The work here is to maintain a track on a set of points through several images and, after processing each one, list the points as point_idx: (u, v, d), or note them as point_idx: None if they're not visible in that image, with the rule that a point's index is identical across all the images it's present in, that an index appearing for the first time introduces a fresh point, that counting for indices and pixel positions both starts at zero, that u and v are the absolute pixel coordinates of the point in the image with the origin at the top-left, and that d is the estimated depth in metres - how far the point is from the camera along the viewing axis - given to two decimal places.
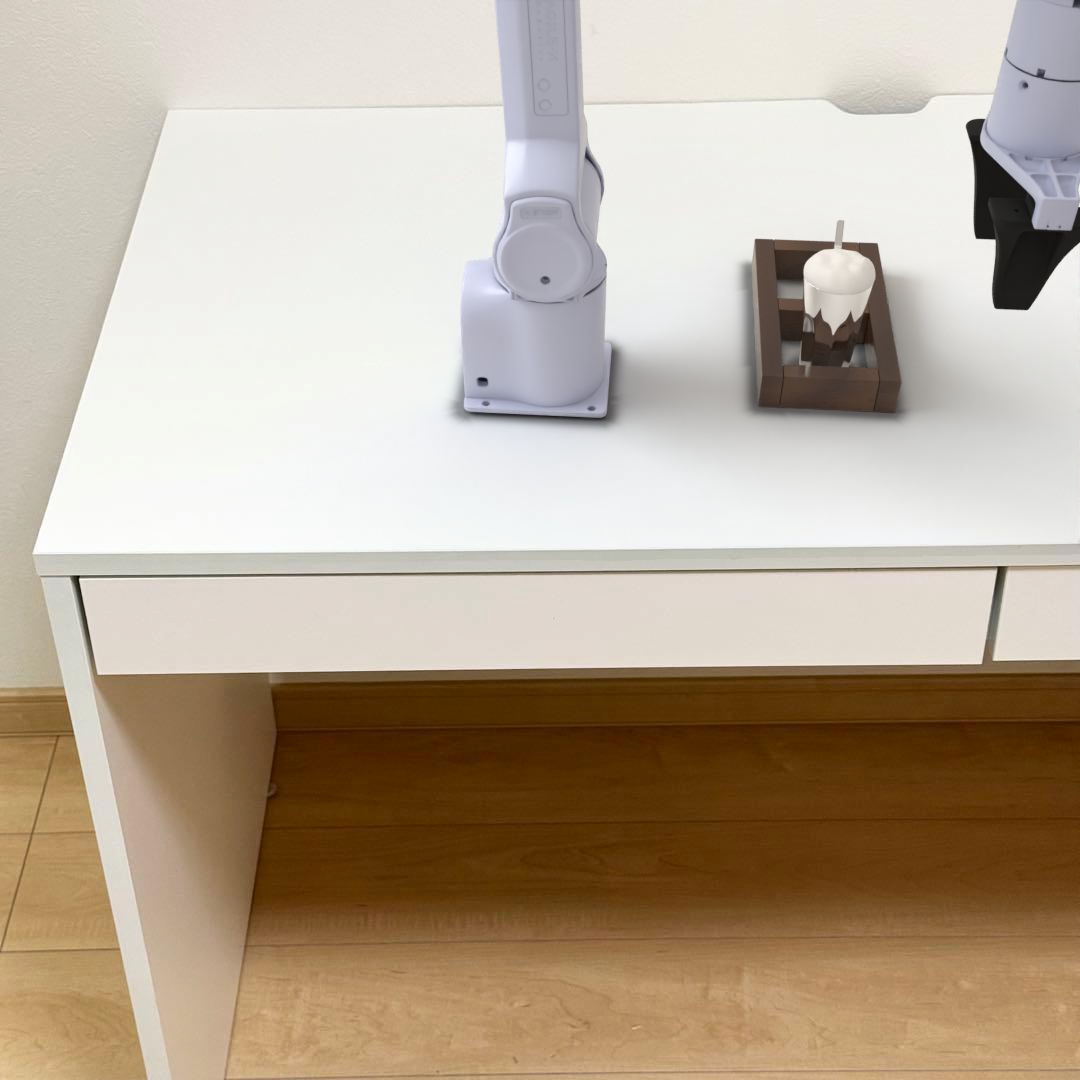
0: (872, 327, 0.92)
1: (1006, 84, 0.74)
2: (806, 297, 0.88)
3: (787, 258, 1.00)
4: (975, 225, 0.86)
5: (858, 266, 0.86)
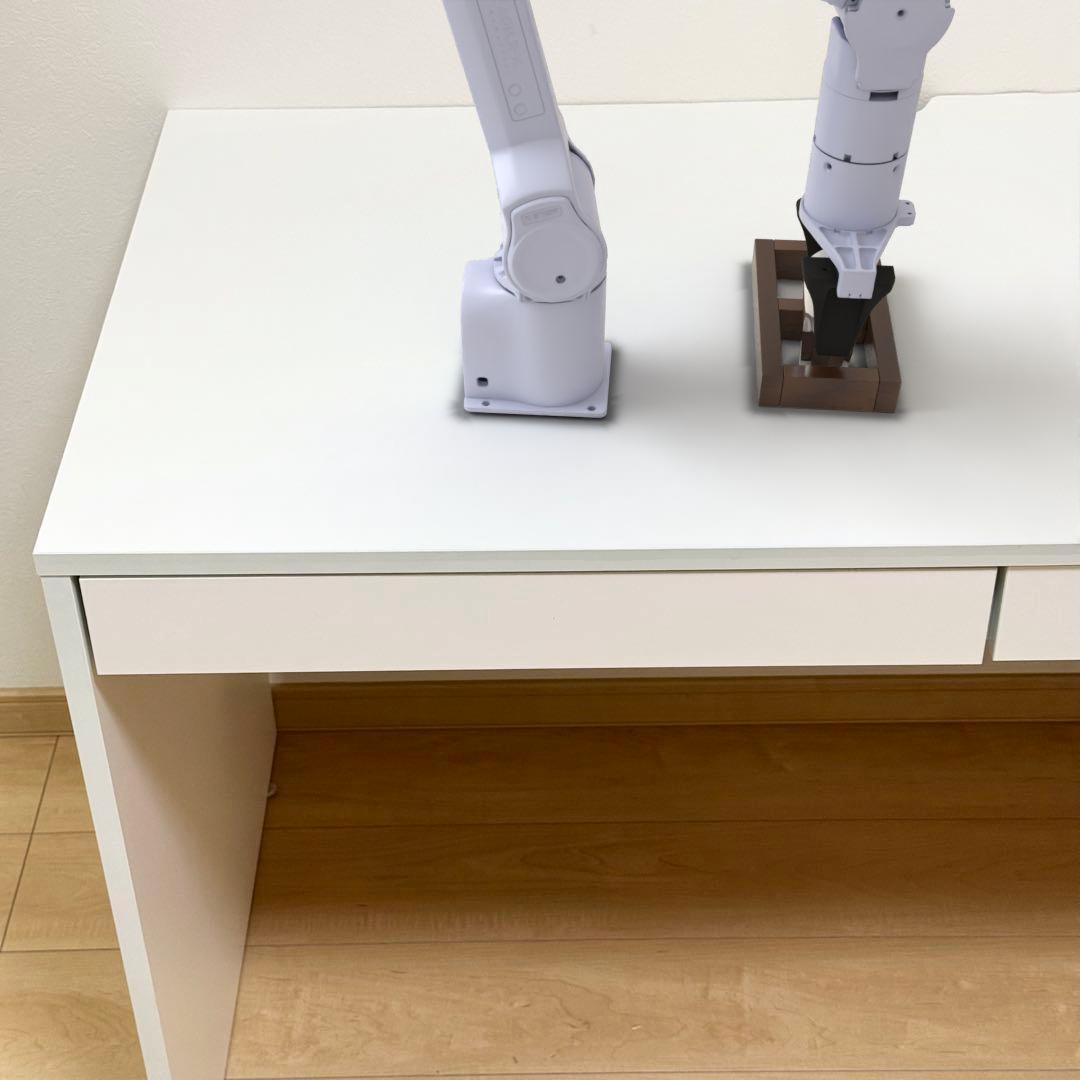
0: (872, 327, 0.92)
1: (814, 164, 0.82)
2: (806, 297, 0.88)
3: (787, 258, 1.00)
4: None
5: None
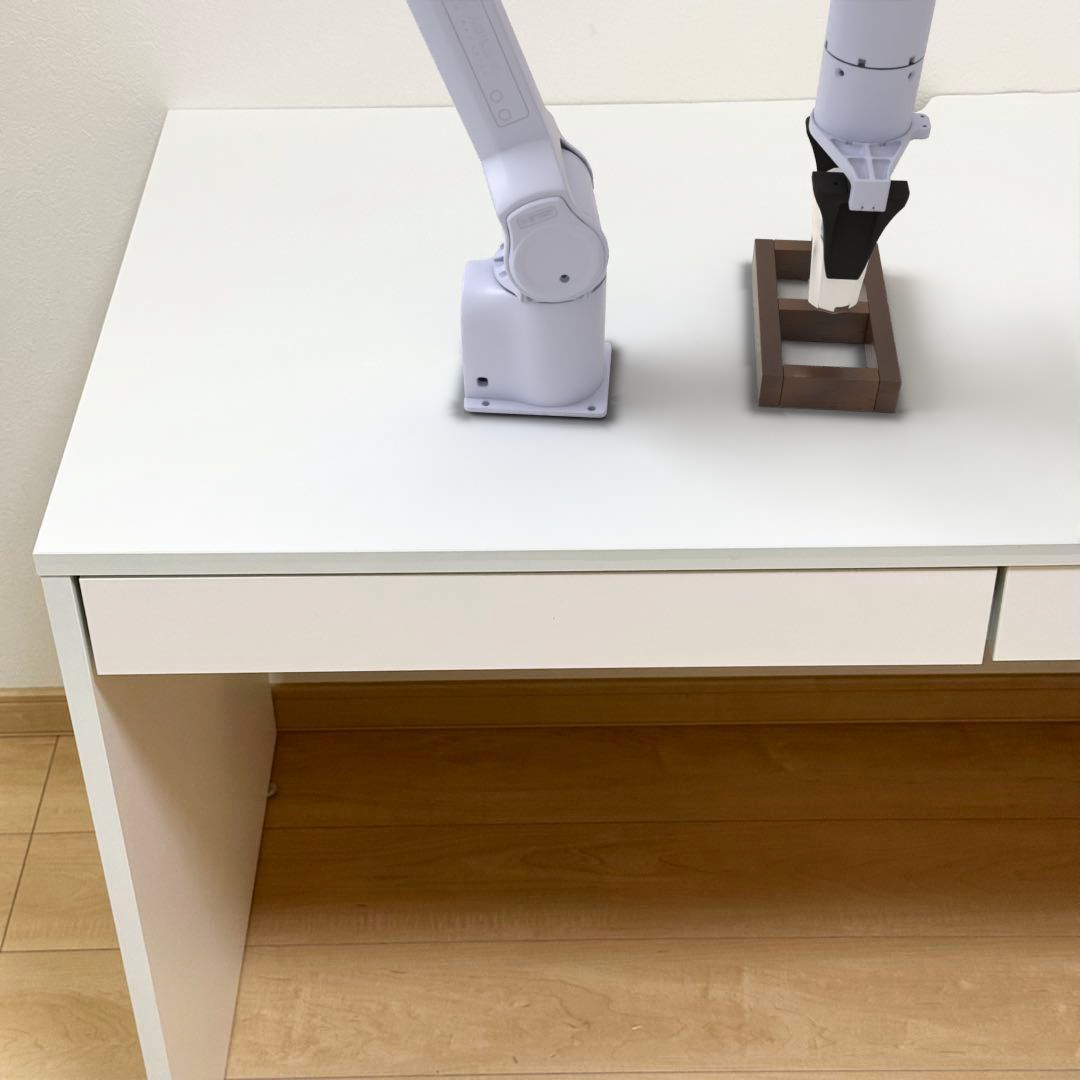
0: (872, 327, 0.92)
1: (825, 72, 0.78)
2: (816, 217, 0.84)
3: (787, 258, 1.00)
4: None
5: None
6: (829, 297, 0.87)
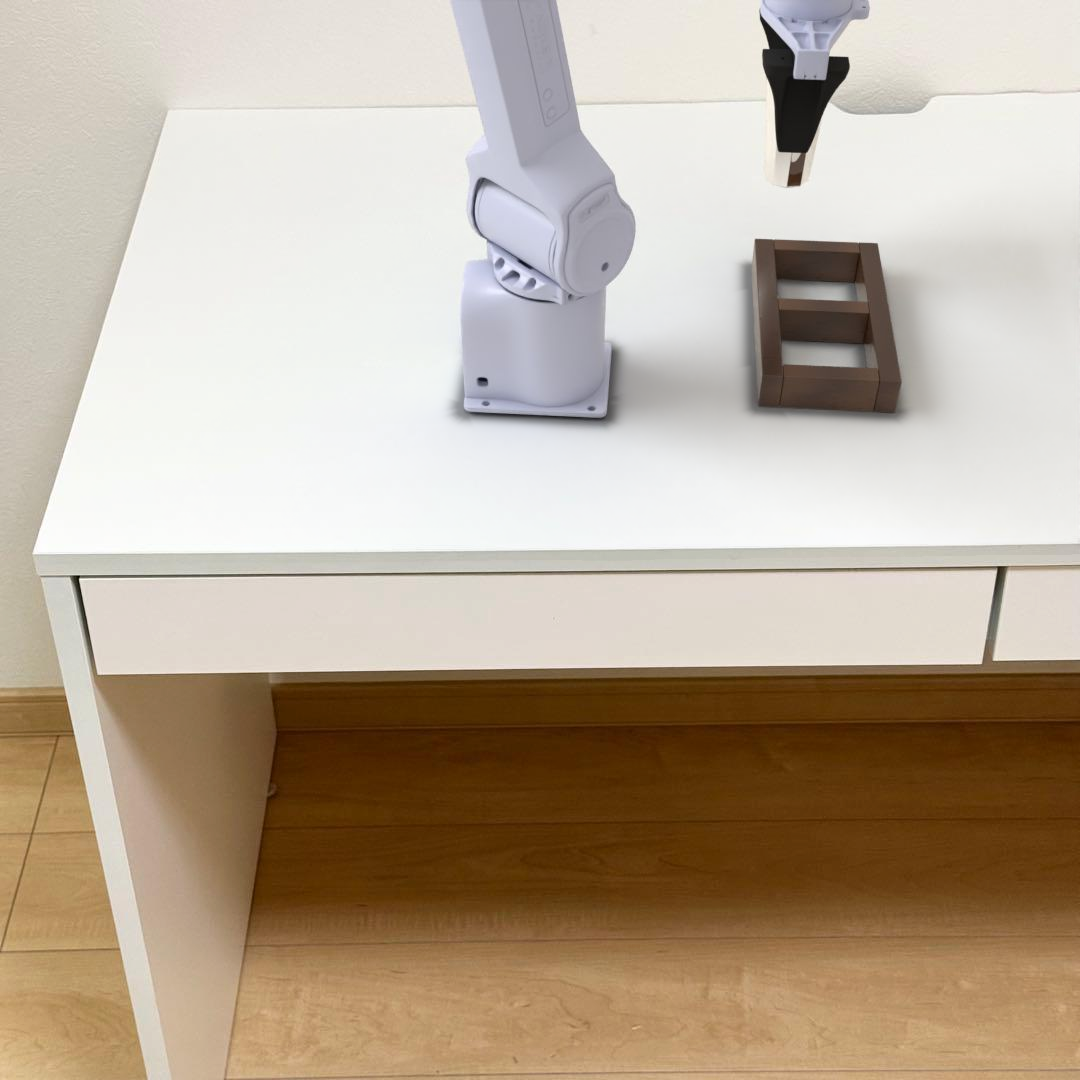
0: (872, 327, 0.92)
1: None
2: (769, 95, 0.93)
3: (787, 258, 1.00)
4: None
5: None
6: (783, 172, 0.96)
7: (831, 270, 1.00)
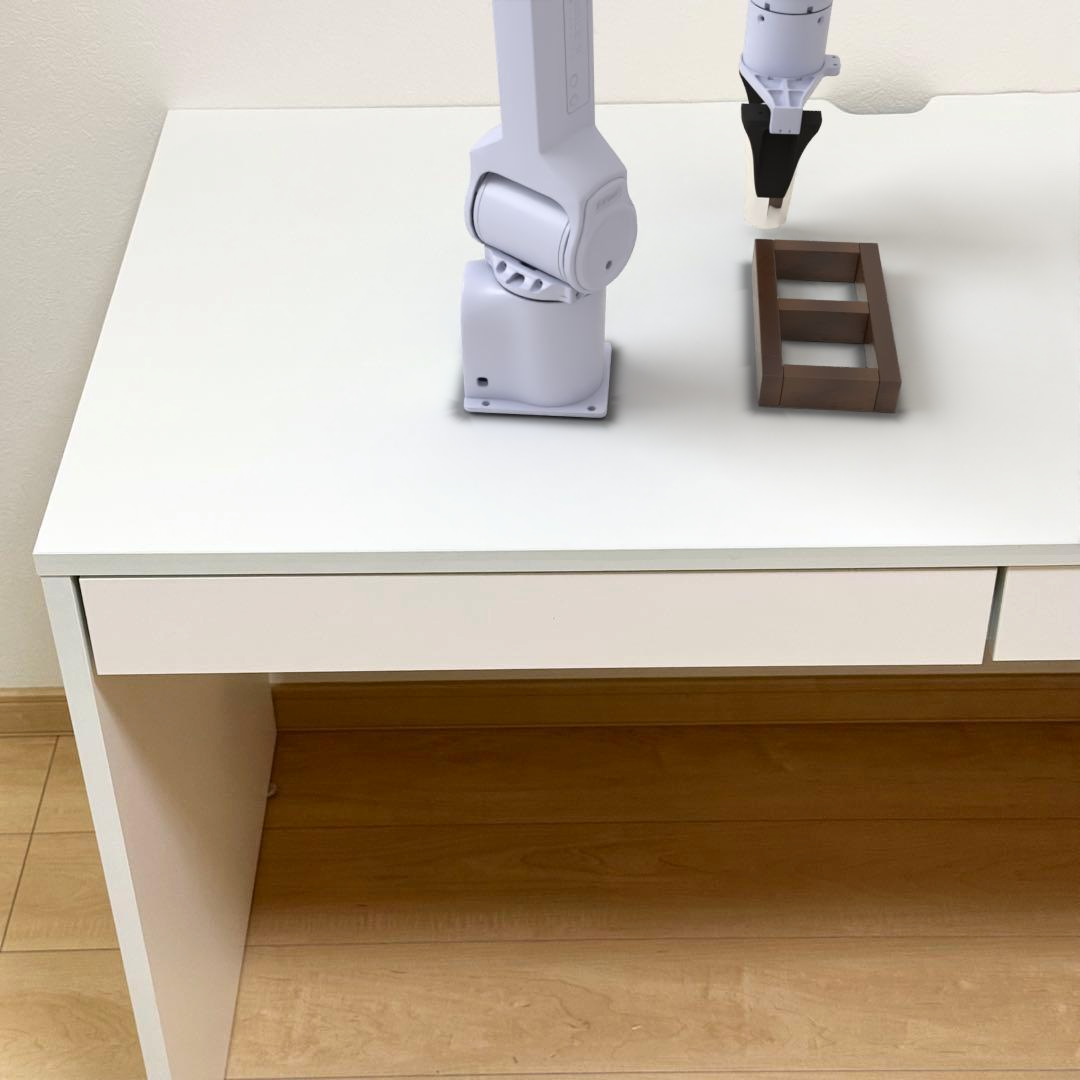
0: (872, 327, 0.92)
1: (750, 18, 0.93)
2: (748, 144, 1.00)
3: (787, 258, 1.00)
4: None
5: None
6: (761, 214, 1.03)
7: (831, 270, 1.00)
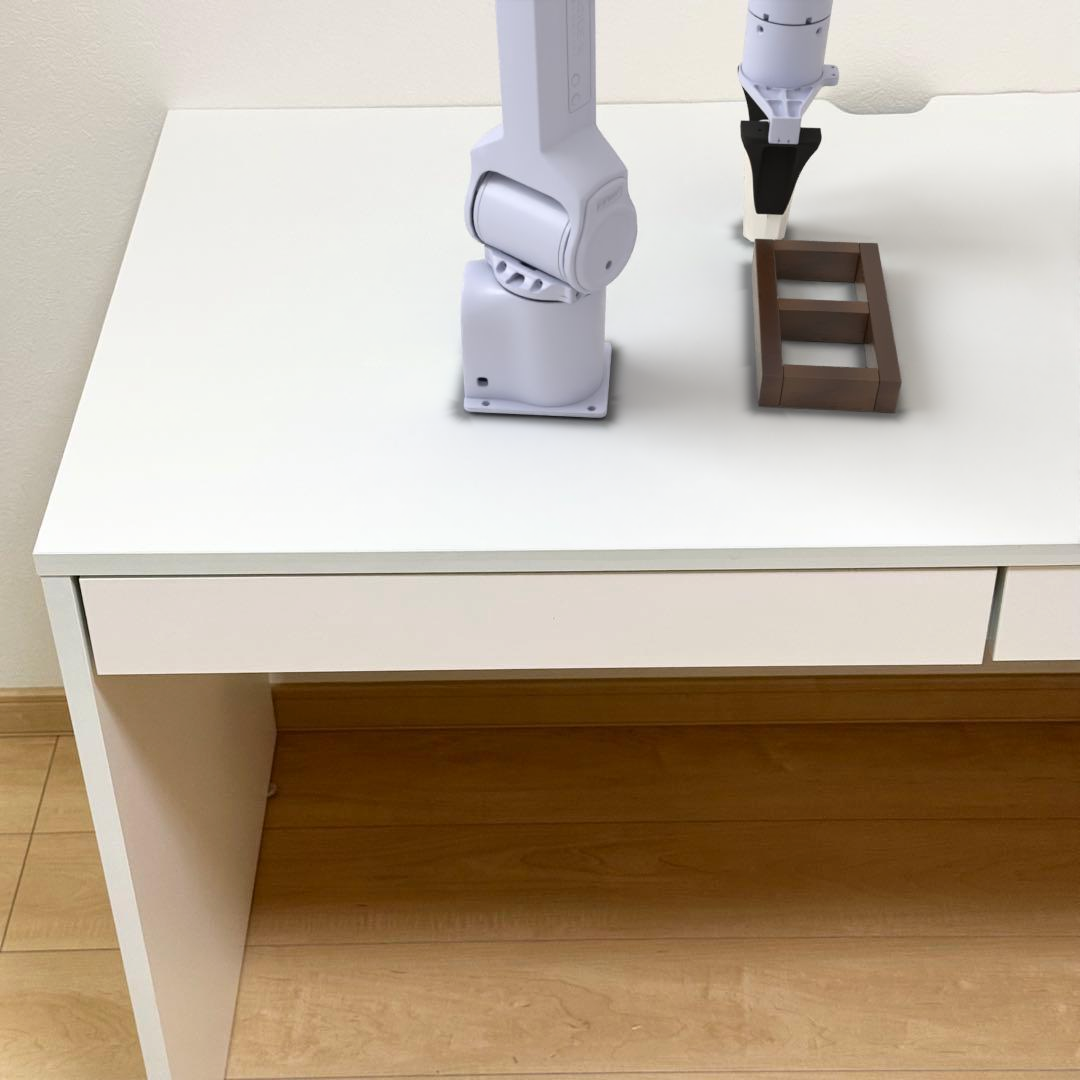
0: (872, 327, 0.92)
1: (749, 29, 0.94)
2: (746, 161, 1.01)
3: (787, 258, 1.00)
4: None
5: None
6: (760, 230, 1.04)
7: (831, 270, 1.00)
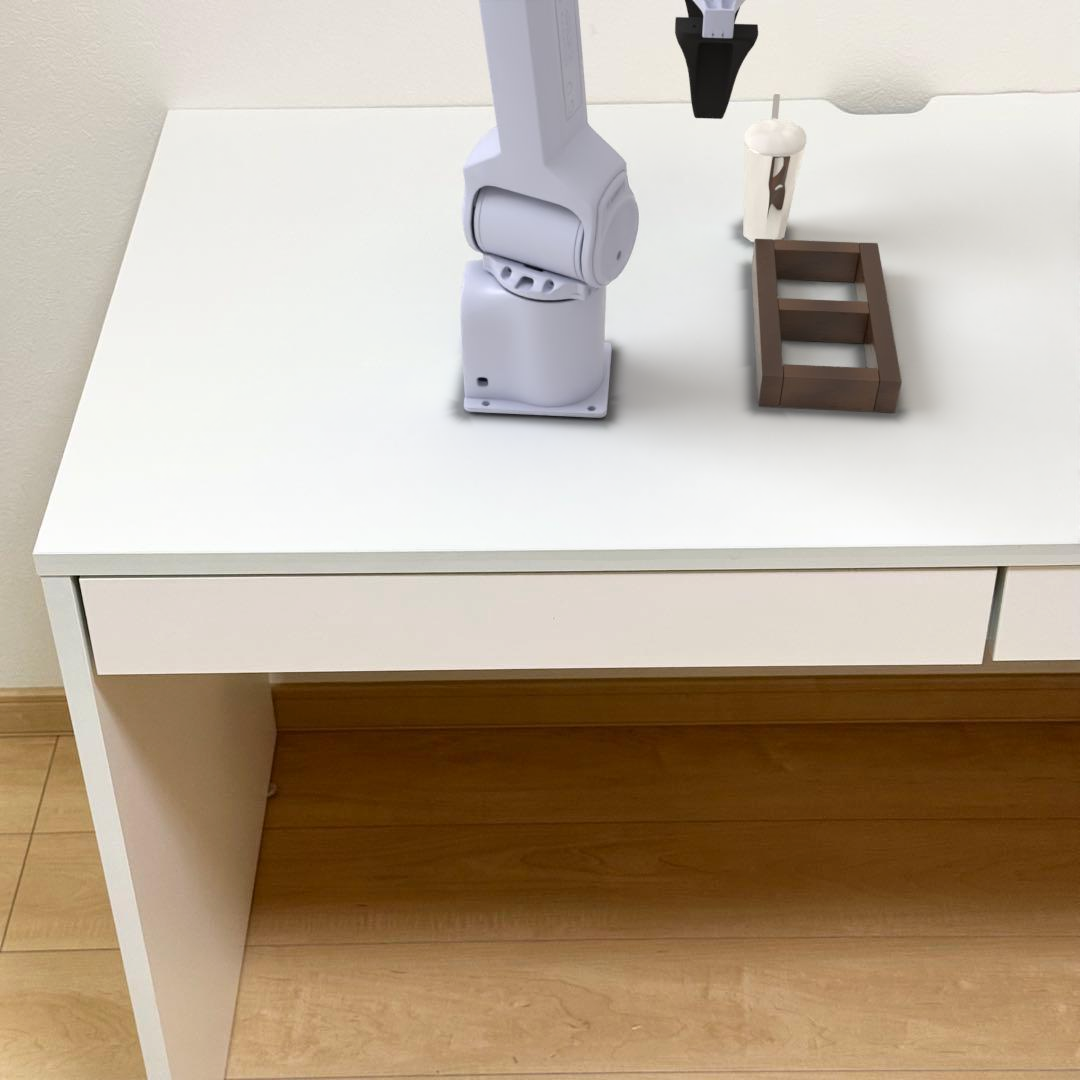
0: (872, 327, 0.92)
1: None
2: (746, 161, 1.01)
3: (787, 258, 1.00)
4: None
5: (791, 132, 0.99)
6: (760, 230, 1.04)
7: (831, 270, 1.00)
